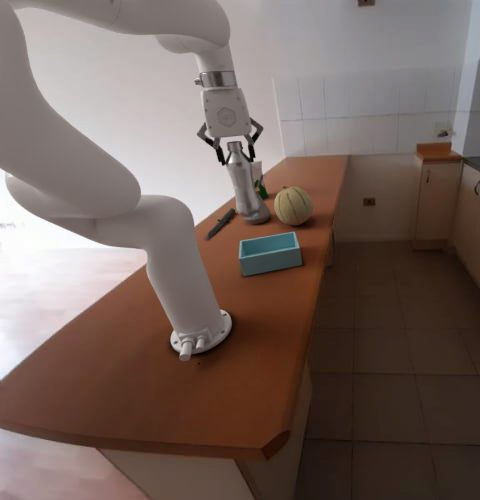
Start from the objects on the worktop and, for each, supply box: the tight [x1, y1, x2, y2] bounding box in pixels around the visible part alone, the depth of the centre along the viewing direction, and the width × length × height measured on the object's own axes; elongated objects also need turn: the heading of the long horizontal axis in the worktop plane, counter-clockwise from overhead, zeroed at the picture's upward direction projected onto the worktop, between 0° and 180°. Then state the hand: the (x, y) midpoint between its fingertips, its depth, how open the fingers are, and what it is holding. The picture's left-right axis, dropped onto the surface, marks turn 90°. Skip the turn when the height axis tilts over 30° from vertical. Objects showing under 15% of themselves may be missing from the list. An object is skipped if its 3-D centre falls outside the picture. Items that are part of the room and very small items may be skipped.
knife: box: [206, 207, 236, 240], centre depth 112 cm, size 24×5×3 cm, turn 168°
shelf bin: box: [238, 231, 303, 277], centre depth 85 cm, size 11×17×6 cm, turn 104°
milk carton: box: [248, 156, 268, 200], centre depth 134 cm, size 9×9×20 cm
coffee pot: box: [241, 174, 272, 225], centre depth 115 cm, size 21×12×15 cm, turn 174°
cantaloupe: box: [273, 185, 314, 226], centre depth 106 cm, size 15×15×15 cm
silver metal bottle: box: [225, 140, 261, 218], centre depth 74 cm, size 6×7×20 cm
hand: (238, 162), depth 72 cm, fingers closed on silver metal bottle, 6 cm apart
